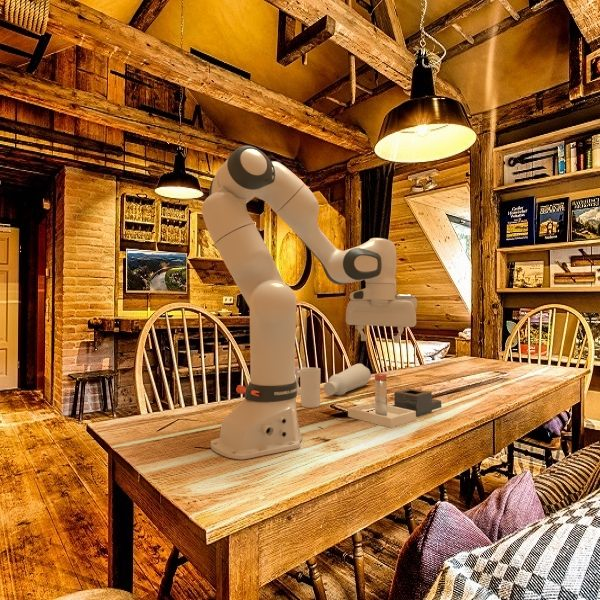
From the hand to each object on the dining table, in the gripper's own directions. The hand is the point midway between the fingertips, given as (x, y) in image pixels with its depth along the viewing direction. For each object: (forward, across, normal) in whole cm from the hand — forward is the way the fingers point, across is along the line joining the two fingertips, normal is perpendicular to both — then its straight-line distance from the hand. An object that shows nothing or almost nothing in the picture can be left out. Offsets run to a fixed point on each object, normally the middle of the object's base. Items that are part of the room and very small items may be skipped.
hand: (380, 341), depth 122 cm
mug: (+23, +26, -8) cm, 35 cm away
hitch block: (+22, -10, -15) cm, 28 cm away
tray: (+22, -1, 0) cm, 22 cm away
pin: (+22, -1, 0) cm, 22 cm away
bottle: (+23, +19, -34) cm, 45 cm away
